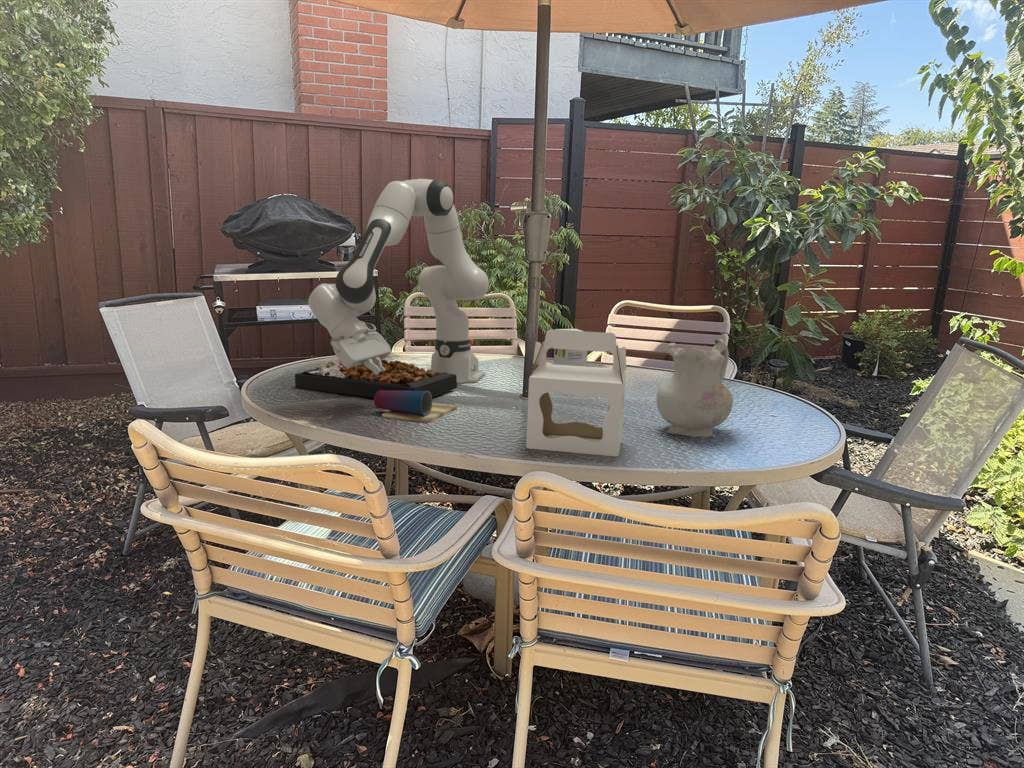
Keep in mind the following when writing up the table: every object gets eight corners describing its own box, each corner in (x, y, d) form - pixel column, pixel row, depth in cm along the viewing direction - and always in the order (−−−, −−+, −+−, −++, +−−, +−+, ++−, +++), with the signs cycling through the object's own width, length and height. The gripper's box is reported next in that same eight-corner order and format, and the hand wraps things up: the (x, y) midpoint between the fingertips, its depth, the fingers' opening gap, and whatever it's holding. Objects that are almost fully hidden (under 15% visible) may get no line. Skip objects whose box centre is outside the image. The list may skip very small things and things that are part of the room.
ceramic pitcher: (680, 421, 200) (681, 335, 196) (747, 429, 187) (749, 337, 183) (643, 436, 183) (643, 342, 179) (714, 446, 171) (715, 345, 167)
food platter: (295, 387, 222) (293, 355, 220) (344, 375, 243) (343, 346, 241) (414, 403, 203) (414, 368, 201) (456, 388, 225) (456, 356, 223)
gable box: (622, 441, 174) (629, 330, 168) (619, 457, 161) (627, 337, 155) (534, 434, 178) (539, 325, 172) (525, 448, 165) (529, 331, 160)
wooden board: (414, 403, 206) (414, 400, 206) (457, 408, 201) (457, 406, 201) (382, 416, 190) (382, 413, 190) (427, 423, 185) (427, 420, 185)
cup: (386, 406, 198) (433, 411, 193) (373, 414, 192) (421, 419, 187) (383, 384, 196) (431, 387, 191) (371, 391, 190) (419, 395, 185)
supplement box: (552, 373, 259) (554, 328, 256) (573, 372, 263) (576, 328, 259) (564, 378, 251) (567, 332, 247) (586, 377, 254) (589, 331, 251)
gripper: (334, 331, 183) (366, 371, 181) (376, 323, 202) (406, 360, 200) (320, 347, 185) (352, 386, 184) (363, 337, 204) (393, 373, 203)
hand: (381, 372), depth 192 cm, fingers closed
